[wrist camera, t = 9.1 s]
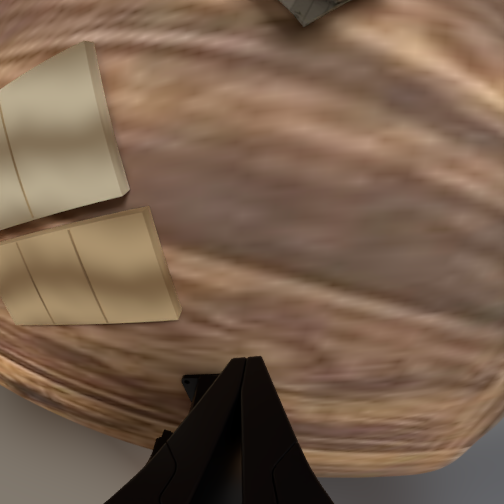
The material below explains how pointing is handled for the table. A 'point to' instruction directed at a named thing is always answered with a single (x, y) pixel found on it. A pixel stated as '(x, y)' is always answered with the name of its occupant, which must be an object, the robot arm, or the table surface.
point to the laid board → (89, 273)
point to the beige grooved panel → (57, 139)
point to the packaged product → (311, 8)
